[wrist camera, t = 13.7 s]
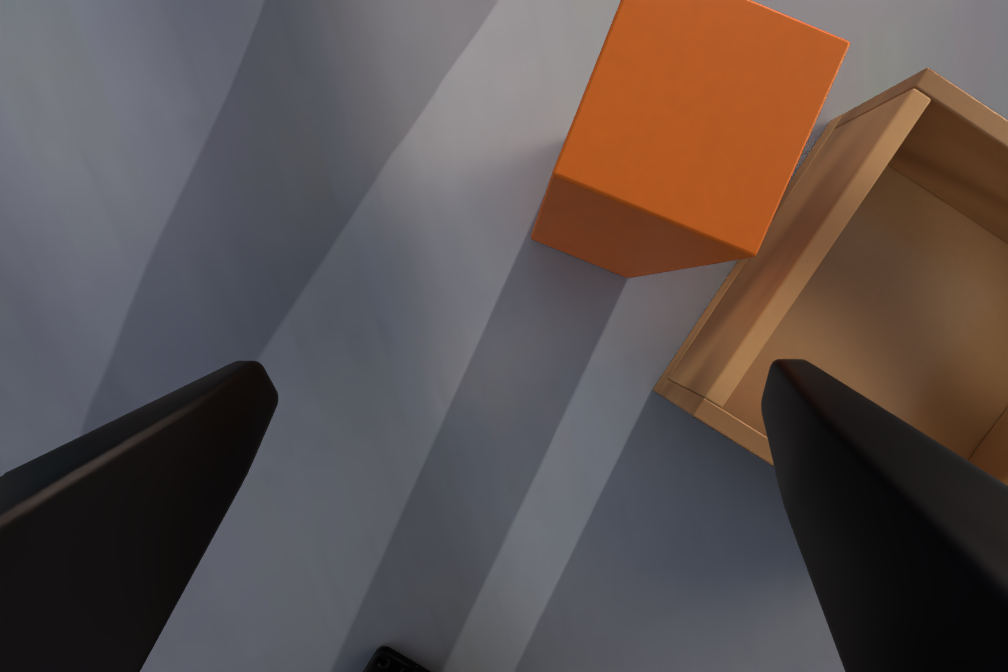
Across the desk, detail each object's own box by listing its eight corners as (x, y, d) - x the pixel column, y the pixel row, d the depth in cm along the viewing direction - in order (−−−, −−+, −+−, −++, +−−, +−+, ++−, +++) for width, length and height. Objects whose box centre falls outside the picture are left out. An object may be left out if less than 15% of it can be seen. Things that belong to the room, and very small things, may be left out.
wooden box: (902, 545, 22) (1011, 614, 17) (652, 389, 22) (692, 415, 17) (1090, 291, 21) (1262, 288, 16) (830, 120, 20) (928, 65, 16)
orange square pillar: (628, 278, 21) (757, 258, 10) (529, 238, 21) (551, 173, 10) (671, 176, 21) (853, 40, 10) (570, 135, 21) (640, -49, 10)
